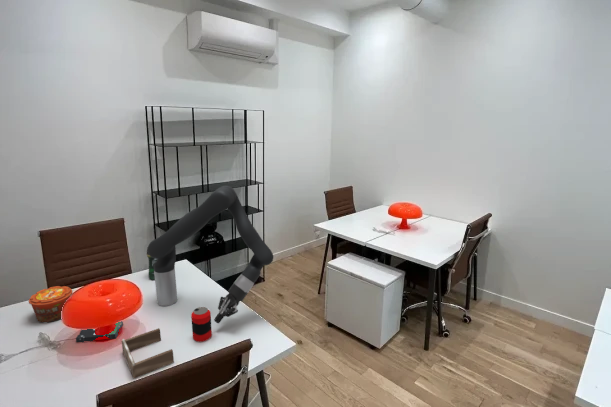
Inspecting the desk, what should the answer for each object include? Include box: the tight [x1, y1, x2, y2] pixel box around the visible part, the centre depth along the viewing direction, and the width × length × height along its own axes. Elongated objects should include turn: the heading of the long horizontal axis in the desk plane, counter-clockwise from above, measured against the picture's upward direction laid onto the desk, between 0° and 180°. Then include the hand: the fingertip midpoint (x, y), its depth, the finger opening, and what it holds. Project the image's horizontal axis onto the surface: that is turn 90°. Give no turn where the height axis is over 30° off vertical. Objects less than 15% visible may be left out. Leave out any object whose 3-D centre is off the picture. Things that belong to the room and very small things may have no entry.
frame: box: [121, 327, 175, 379], centre depth 131 cm, size 17×14×6 cm
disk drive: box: [75, 320, 124, 343], centre depth 145 cm, size 10×3×15 cm
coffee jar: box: [146, 246, 157, 281], centre depth 194 cm, size 10×8×19 cm
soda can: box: [190, 306, 213, 343], centre depth 143 cm, size 8×8×12 cm
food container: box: [28, 285, 73, 323], centre depth 157 cm, size 16×16×11 cm
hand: (216, 321), depth 147 cm, fingers closed
